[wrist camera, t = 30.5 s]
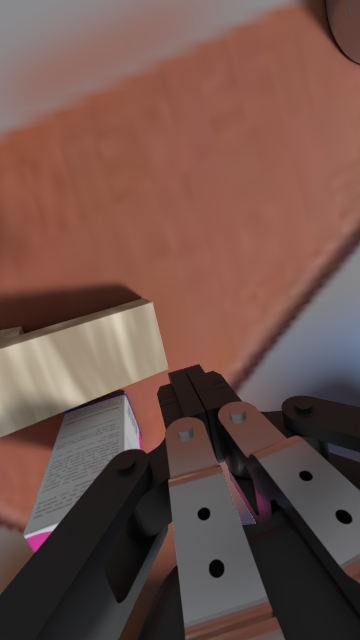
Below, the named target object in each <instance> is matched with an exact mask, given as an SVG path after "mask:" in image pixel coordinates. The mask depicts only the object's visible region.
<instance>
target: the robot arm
mask: <svg viewBox="0 0 360 640" xmlns="http://www.w3.org/2000/svg"><path fill="white" fill-rule="evenodd" d="M326 6H327V15H328V20H329V23H330V27H331V31H332V33H333V35H334V37H335V39H336V42H337V44H338V45H339V46H340V48H341V49H342V50H343V52H344V53H345V54H346V55H347V56H348V57H349V58H351V59H352V60H353V61H355V62H357V63H359V64H360V0H326ZM168 376H169V380H170V384H167V385H164V386H161V387H160V388H159V390H158V393H157V396H158V400H159V404H160V408H161V412H162V416H163V420H164V424H165V428H166V432H165V438H164V440H163V442H162V443H161V444H160V445H159V446H158V447H157V448H155V449H154V450H152V451H151V452H149V453H148V454H146V453H145V452H144V451H143V450H140V449H129V450H125V451H123V452H121V453H119V454H117V455H116V456H115V457H113V458H112V459H111V460H110V462H109V463H108V464H107V465H106V466H105V468H104V469H103V470H102V471H101V473H100V474H99V475H98V476H97V477H96V479H95V480H94V481H93V482H92V484H91V485H90V486H89V487H88V488H87V490H86V491H85V492H84V493H83V495H82V496H81V497H80V498H79V499H78V501H77V502H76V503H75V504H74V506H73V507H72V508H71V509H70V510H69V512H68V513H67V514H66V515H65V517H64V518H63V519H62V520H61V521H60V523H59V524H58V525H57V526H56V528H55V529H54V530H53V531H52V532H51V534H50V535H49V536H48V537H47V539H46V540H45V541H44V542H43V543H42V545H41V546H40V547H39V548H38V550H37V551H36V552H35V553H34V554H33V556H32V557H31V558H30V560H29V561H28V562H27V563H26V564H25V565H24V567H23V568H22V569H21V571H20V572H19V573H18V574H17V575H16V577H15V578H14V579H13V580H12V581H11V583H10V584H9V585H8V586H7V588H6V589H5V590H4V591H3V592H2V594H1V595H0V640H118V638H119V636H120V634H121V632H122V630H123V628H124V625H125V623H126V621H127V619H128V617H129V615H130V612H131V610H132V608H133V606H134V604H135V602H136V600H137V597H138V595H139V593H140V591H141V589H142V587H143V584H144V582H145V580H146V578H147V576H148V574H149V572H150V569H151V567H152V565H153V563H154V561H155V559H156V557H157V554H158V552H159V550H160V548H161V546H162V544H163V541H164V539H165V537H166V535H167V531H168V524H170V523H171V522H172V521H173V528H174V538H175V547H176V556H177V566H175V567H174V569H173V570H172V571H171V572H170V573H169V575H168V576H167V577H166V579H165V580H164V582H163V583H162V585H161V586H160V588H159V590H158V591H157V594H156V595H155V597H154V599H153V601H152V604H151V606H150V608H149V611H148V614H147V616H146V619H145V621H144V624H143V626H142V629H141V632H140V634H139V636H138V639H137V640H360V462H357V461H354V460H351V459H348V458H345V457H342V456H339V455H336V454H333V453H330V452H329V446H328V445H329V443H331V444H334V445H337V446H340V447H344V448H347V449H350V450H354V451H357V452H360V407H356V406H351V405H347V404H342V403H337V402H333V401H328V400H323V399H318V398H314V397H309V396H294V397H291V398H288V399H286V400H285V401H284V402H283V404H282V411H273V412H260V411H258V409H257V408H256V407H255V406H253V405H252V404H250V403H247V402H242V401H241V399H240V398H239V397H238V396H237V394H236V393H235V392H234V391H233V389H232V388H231V387H230V386H229V384H228V383H227V382H226V380H225V379H224V378H223V377H222V375H221V374H218V373H216V372H214V371H211V372H208V373H205V372H204V370H203V369H202V368H201V366H200V365H199V364H198V365H194V366H191V367H187V368H184V369H181V370H177V371H174V372H170V373H168ZM224 461H225V462H226V464H227V466H228V470H229V475H230V479H231V481H232V483H233V485H234V486H235V488H236V490H237V491H238V493H239V495H240V497H241V498H242V500H243V502H244V503H245V505H246V507H247V509H248V510H249V512H250V514H251V515H252V517H253V519H254V521H255V522H256V524H250V525H242V524H241V521H240V519H239V516H238V513H237V510H236V507H235V504H234V501H233V499H232V496H231V493H230V490H229V487H228V485H227V482H226V479H225V476H224V473H223V471H222V468H221V466H220V465H218V463H221V462H224ZM217 462H218V463H217Z"/></svg>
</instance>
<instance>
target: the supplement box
mask: <svg viewBox="0 0 360 640" xmlns="http://www.w3.org/2000/svg"><path fill="white" fill-rule="evenodd" d="M129 449H140V450H143V449H142V437H141V433H140V430H139V427H138V424H137V421H136V419H135V416H134V413H133V410H132V408H131V405H130V402H129V400H128V397H127V395H126V392H122V393H118V394H115V395H112V396H110V397H107V398H103V399H100V400H98V401H94V402H92V403H88V404H85V405H82V406H79V407H76V408H73V409H70V410H68V411H66V413H65V415H64V418H63V421H62V424H61V427H60V430H59V433H58V436H57V439H56V442H55V445H54V448H53V450H52V453H51V456H50V459H49V462H48V465H47V468H46V471H45V474H44V477H43V480H42V482H41V485H40V488H39V491H38V494H37V497H36V500H35V503H34V506H33V509H32V512H31V515H30V517H29V521H28V523H27V526H26V529H25V532H24V538H25V539H26V540H27V542H28V544H29V545H30V547H31V549H32V550H33V552H34V553H35V552H36V551H37V550H38V548H39V547H40V546H41V545H42V543H43V542H44V541H45V540H46V539H47V537H48V536H49V535H50V534H51V532H52V531H53V530H54V529H55V528H56V526H57V525H58V524H59V523H60V521H61V520H62V519H63V518H64V517H65V515H66V514H67V513H68V512H69V510H70V509H71V508H72V507H73V506H74V504H75V503H76V502H77V501H78V499H79V498H80V497H81V496H82V495H83V493H84V492H85V491H86V490H87V488H88V487H89V486H90V485H91V484H92V482H93V481H94V480H95V479H96V477H97V476H98V475H99V474H100V473H101V471H102V470H103V469H104V468H105V466H106V465H107V464H108V463H109V462H110V460H111V459H112V458H113V457H115V456H116V455H117V454H119V453H121V452H123V451H125V450H129Z"/></svg>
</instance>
